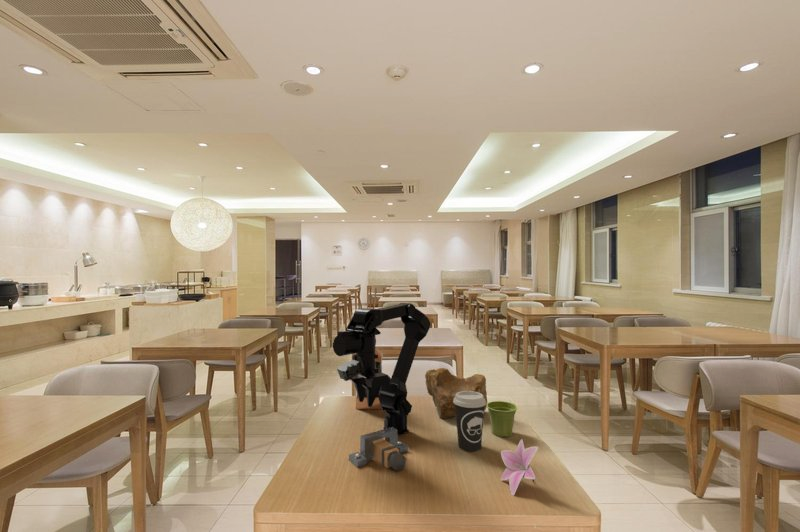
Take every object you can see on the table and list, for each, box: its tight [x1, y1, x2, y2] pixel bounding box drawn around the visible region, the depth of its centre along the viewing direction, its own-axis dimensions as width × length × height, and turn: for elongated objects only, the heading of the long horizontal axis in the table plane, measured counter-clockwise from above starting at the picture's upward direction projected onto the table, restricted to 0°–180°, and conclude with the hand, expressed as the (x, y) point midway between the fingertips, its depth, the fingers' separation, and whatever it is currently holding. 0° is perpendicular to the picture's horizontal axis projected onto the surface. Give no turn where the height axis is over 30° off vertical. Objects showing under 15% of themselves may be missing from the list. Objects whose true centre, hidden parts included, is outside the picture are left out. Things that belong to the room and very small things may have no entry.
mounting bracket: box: [348, 427, 409, 468], centre depth 105 cm, size 5×16×6 cm, turn 125°
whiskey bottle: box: [355, 336, 384, 410], centre depth 147 cm, size 10×10×32 cm
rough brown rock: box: [424, 367, 488, 419], centre depth 136 cm, size 23×17×15 cm
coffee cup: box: [453, 391, 486, 453], centre depth 110 cm, size 10×10×15 cm
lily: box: [500, 439, 539, 496], centre depth 90 cm, size 12×12×10 cm
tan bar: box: [361, 431, 407, 472], centre depth 103 cm, size 17×4×4 cm, turn 35°
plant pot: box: [486, 400, 518, 438], centre depth 120 cm, size 9×9×9 cm
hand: (365, 404), depth 111 cm, fingers open, 5 cm apart
